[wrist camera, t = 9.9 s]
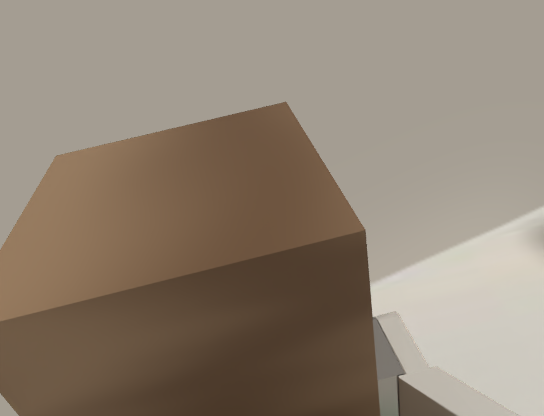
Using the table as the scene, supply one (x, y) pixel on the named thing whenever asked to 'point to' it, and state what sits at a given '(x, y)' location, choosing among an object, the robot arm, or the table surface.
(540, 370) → the table surface
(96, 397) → the walnut block
